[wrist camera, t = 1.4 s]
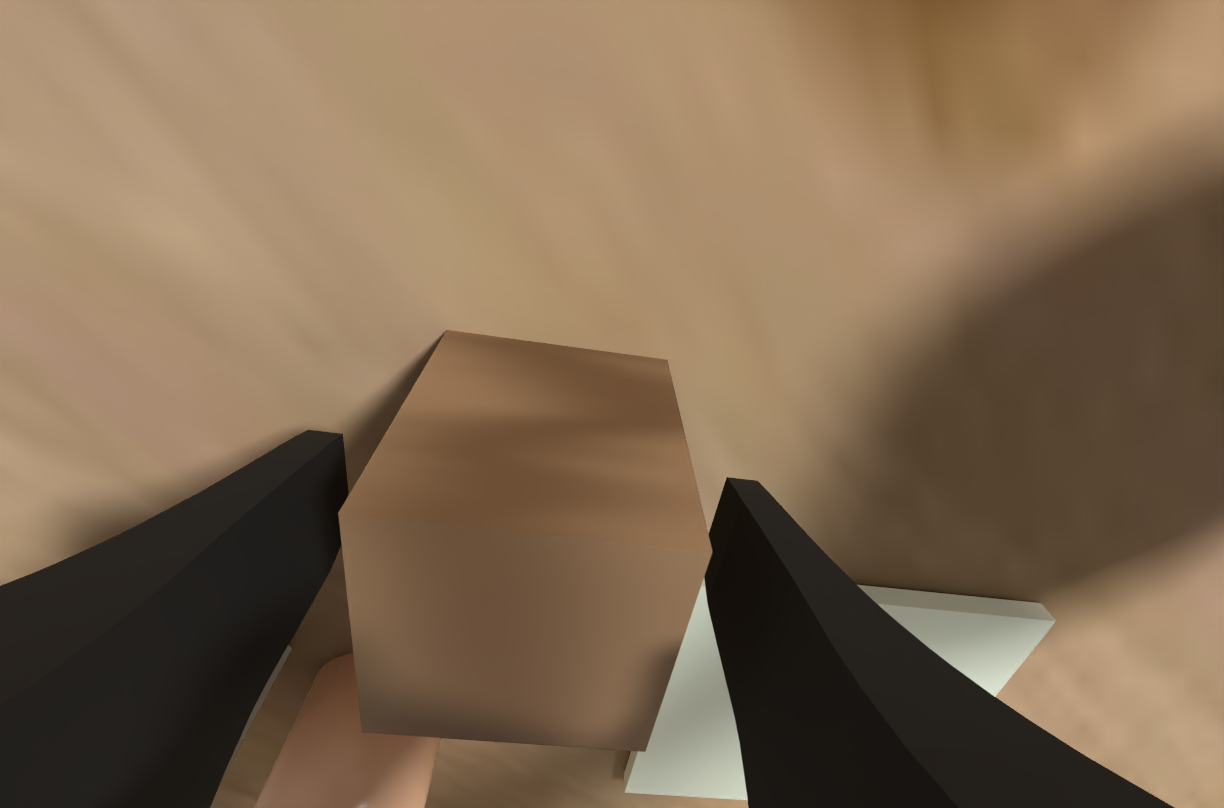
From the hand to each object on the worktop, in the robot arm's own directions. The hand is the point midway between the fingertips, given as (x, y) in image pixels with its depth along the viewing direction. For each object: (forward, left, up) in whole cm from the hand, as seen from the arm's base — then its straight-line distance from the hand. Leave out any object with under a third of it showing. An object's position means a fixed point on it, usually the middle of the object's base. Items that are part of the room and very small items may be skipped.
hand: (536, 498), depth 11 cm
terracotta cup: (+4, +10, -2) cm, 11 cm away
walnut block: (0, 0, -2) cm, 2 cm away
